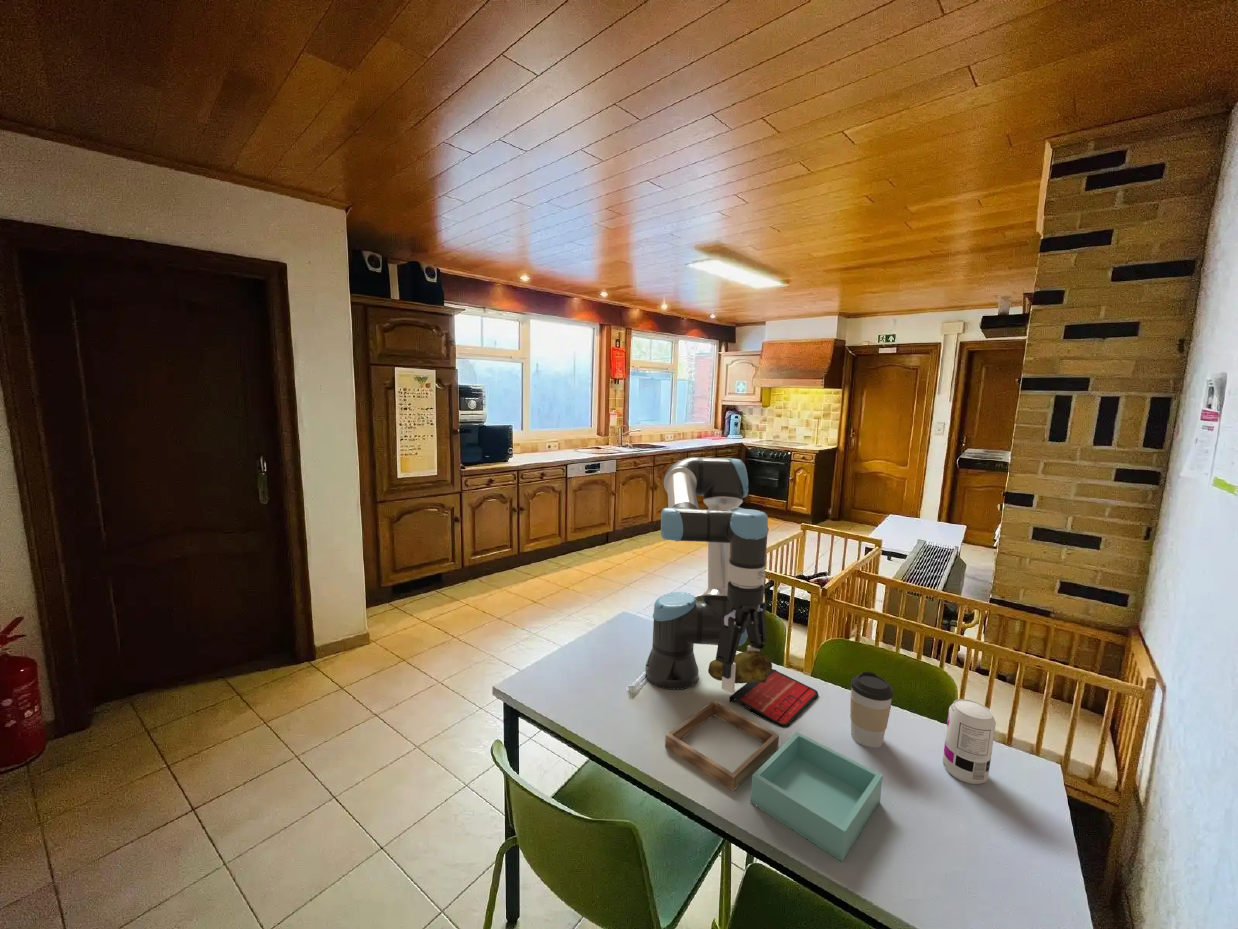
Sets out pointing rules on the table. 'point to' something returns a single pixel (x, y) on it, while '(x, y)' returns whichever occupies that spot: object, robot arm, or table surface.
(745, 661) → the potato
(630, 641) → the table surface
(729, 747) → the table surface
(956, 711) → the supplement can
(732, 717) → the frame
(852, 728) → the coffee cup
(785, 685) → the binder
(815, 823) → the tub
